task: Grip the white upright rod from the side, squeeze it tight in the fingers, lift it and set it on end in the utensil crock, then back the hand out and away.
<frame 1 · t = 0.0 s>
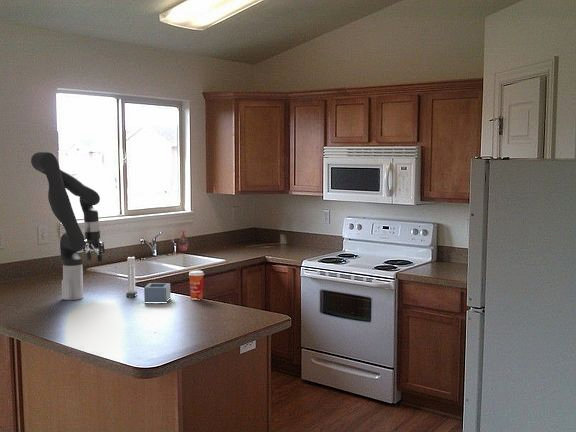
hand: (94, 260, 324), 17 cm above the countertop, tool pointing down, fingers open, 8 cm apart
utensil crock: (157, 301, 310), on the countertop
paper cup: (196, 299, 316), on the countertop
white upright rod: (131, 296, 321), on the countertop
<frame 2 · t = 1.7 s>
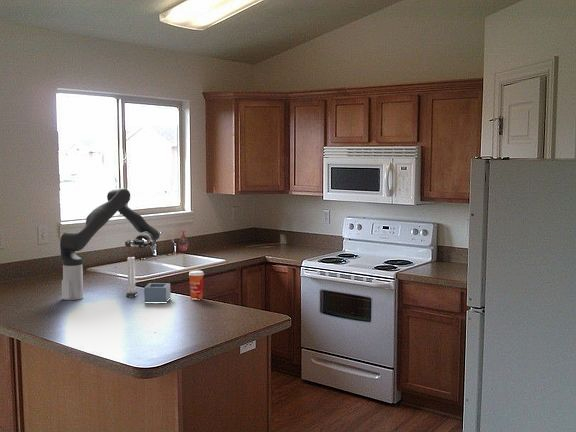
hand: (136, 245, 330), 25 cm above the countertop, tool horizontal, fingers open, 8 cm apart
nothing on the countertop moved.
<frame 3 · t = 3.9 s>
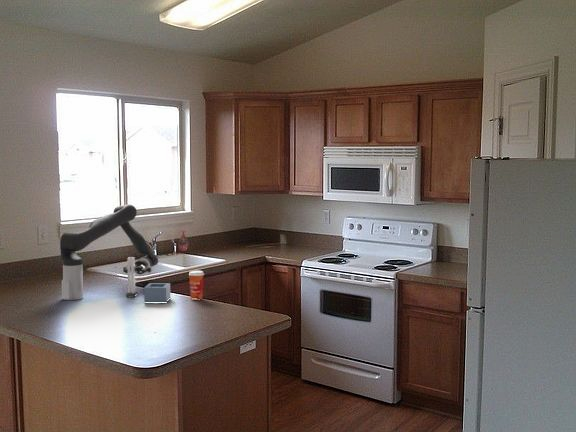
hand: (134, 271, 327), 11 cm above the countertop, tool horizontal, fingers open, 8 cm apart
nothing on the countertop moved.
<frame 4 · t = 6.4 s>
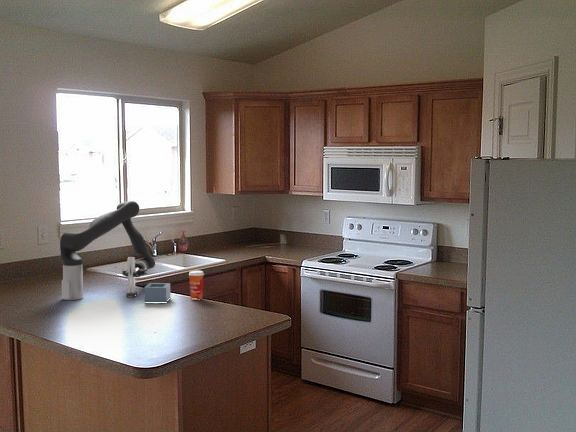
hand: (130, 274, 317), 12 cm above the countertop, tool horizontal, fingers closed on white upright rod, 3 cm apart
white upright rod: (131, 296, 321), on the countertop, touching gripper
everything else where it was.
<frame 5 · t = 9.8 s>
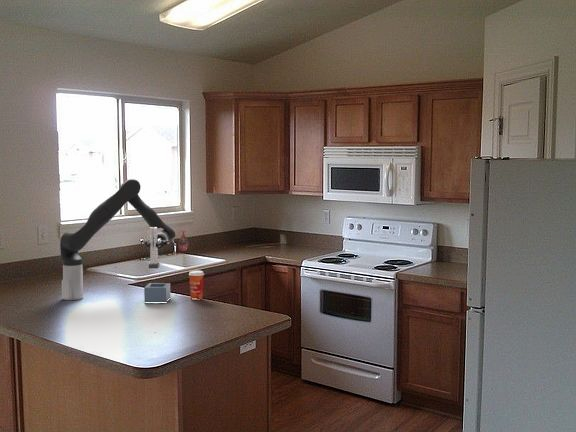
hand: (152, 245, 307), 28 cm above the countertop, tool horizontal, fingers closed on white upright rod, 3 cm apart
white upright rod: (154, 267, 311), point 16 cm above the countertop, touching gripper
everything else where it was.
when the fingers open (14 cm above the countertop, at t = 13.5 s): white upright rod drops 1 cm, resting on utensil crock.
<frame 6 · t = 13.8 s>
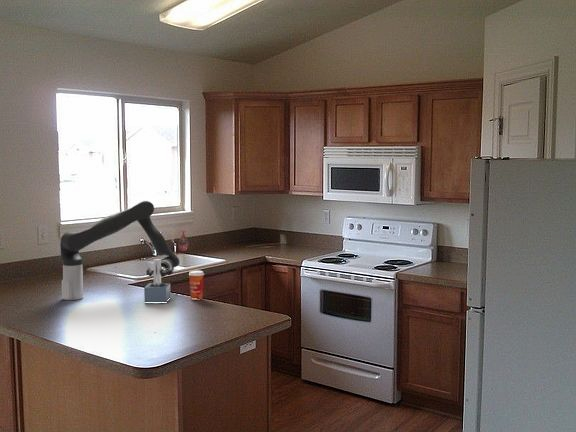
hand: (156, 274, 306), 14 cm above the countertop, tool horizontal, fingers open, 5 cm apart
white upright rod: (157, 299, 310), point 1 cm above the countertop, touching utensil crock
everything else where it was.
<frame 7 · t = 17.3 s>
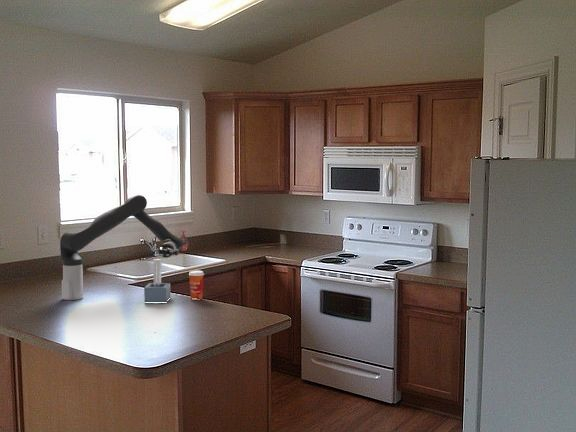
hand: (161, 253, 319), 22 cm above the countertop, tool horizontal, fingers open, 8 cm apart
nothing on the countertop moved.
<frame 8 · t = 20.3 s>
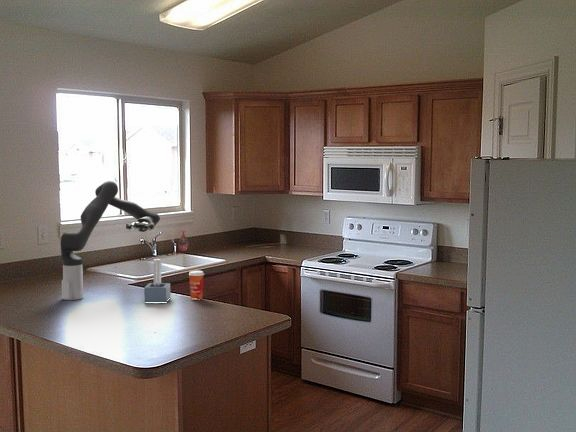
hand: (137, 227, 329), 34 cm above the countertop, tool horizontal, fingers open, 8 cm apart
nothing on the countertop moved.
at the end: white upright rod 0.1 cm off-centre on the utensil crock, point 1.0 cm above the utensil crock's base; white upright rod tilted 0°; the gripper is holding nothing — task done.
